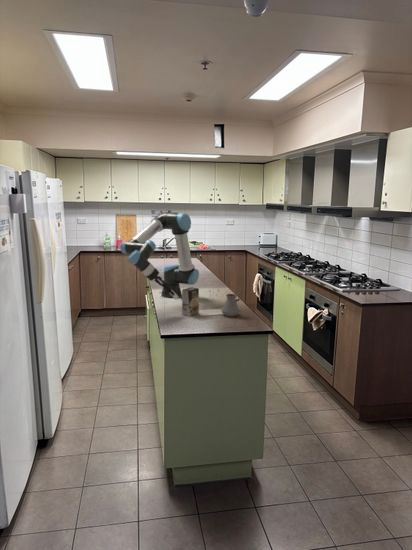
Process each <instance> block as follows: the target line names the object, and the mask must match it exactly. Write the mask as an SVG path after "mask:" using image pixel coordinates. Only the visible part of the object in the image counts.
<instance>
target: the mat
mask: <svg viewBox="0 0 412 550" xmlns="http://www.w3.org/2000/svg"><path fill="white" fill-rule="evenodd" d="M197 314H198V315H199V316H201V317H207V316H225V315H224V314H223V313H222V308H213V309H211V308H210V309H199V313H197Z"/></svg>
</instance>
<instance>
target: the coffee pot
mask: <svg viewBox="0 0 412 550" xmlns="http://www.w3.org/2000/svg"><path fill="white" fill-rule="evenodd" d="M225 296H226V300H225V302H224V304H223V306H222V308H221V309H222V313H223V314H224V315H223V316H226V317H230V318H231V317H232V318H233V317H236V316H238V315H239V313H240V312H241V311H240V308H239V305H238V303H241V299H240V298H237V297H238V295H237V294H235V293H227V294H226V295H225ZM236 298H237V299H236Z"/></svg>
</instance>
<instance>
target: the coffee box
mask: <svg viewBox="0 0 412 550" xmlns="http://www.w3.org/2000/svg"><path fill="white" fill-rule="evenodd" d="M199 291H200V288H198V287H193V286H192V287H187V288H183V289H181V292H182V296H181V300H182V301H181V305H182V306H181V307H182V308H181V310H182V311H181V313H182V315H183V316H187V317H191V316H194V315H196V314H198V313H199V310H200V308H199V305H200V303H199V301H200V299H199V297H200V292H199Z"/></svg>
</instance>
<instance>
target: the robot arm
mask: <svg viewBox="0 0 412 550" xmlns="http://www.w3.org/2000/svg"><path fill="white" fill-rule="evenodd" d="M191 227H192V220H191V217H190V215H189V214H187V213H186V212H170V211H167V212H162V213H159V214H158V215H156V216H155V217H154V218H152V219H151V221H150V223H148V224H147V225H146V226H145V227H144V228H143V229H142V230H141V231H139V232H138V233H137V234H136V235H134V237H132V238H130V240H128V241H122V242H121V243H120V247H119V249H120V252H121V253H122V254H126V255H129V256H128V261H129V262H130V263H131V264H132V265H134V266H135V267H136V269H138V271H140V272H141V275H144V276H145V277H146V278H147V279H148V280H149V281H150V282H151V281H154V282H155V283H157V284H158V285H159V286H161V287H162V290H161V297H162V298H166V299H175V300H177V299H178V298H182V289H181V286H180V284H183V285H190V286H191V285H192V286H193V285H195V284H197V282H198V280H199V276H200V271H199V270H198V269H197V268H196V266H195V264H193V263H192V257H191V249H190V243H189V237H188V233H189V231H190V229H191ZM163 230H171V234H172V235H173V236H174V238H175V243H176V249H177V256H178V261H179V264H169V265H166V266H164V268H163V279H162V277H161V276H160V271H159V270H158V269H157V268H156V267H155V266H154V265H153V264H152V263H151V262H150V261H149V259H150V257H151V256H152V255H153V254H154V252H155V250H156V248H157V245H156V243H155V242H154V241H153V240H151V238H153V237H154V236H155V235H156V234H157V233H161V232H162V231H163Z"/></svg>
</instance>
